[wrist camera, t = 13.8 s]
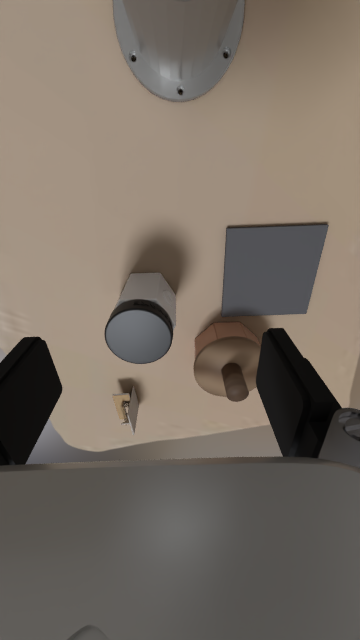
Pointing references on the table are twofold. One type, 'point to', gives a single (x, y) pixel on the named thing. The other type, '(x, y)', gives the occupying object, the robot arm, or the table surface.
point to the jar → (142, 319)
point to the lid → (228, 367)
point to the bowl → (222, 334)
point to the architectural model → (133, 406)
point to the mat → (270, 269)
